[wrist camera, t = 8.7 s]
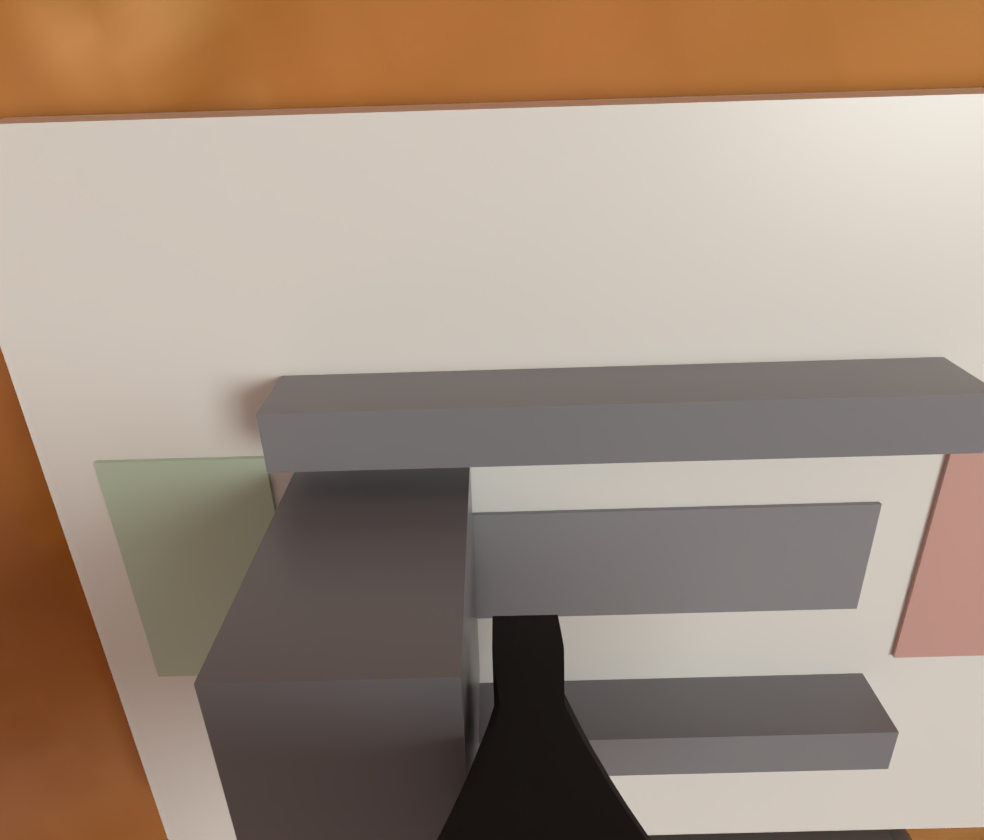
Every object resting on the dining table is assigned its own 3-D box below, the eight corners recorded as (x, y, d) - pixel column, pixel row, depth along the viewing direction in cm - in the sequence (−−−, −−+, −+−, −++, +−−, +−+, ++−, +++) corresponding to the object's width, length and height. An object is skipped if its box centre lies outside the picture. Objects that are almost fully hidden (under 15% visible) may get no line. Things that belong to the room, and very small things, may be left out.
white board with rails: (1206, 80, 12) (1457, 85, 9) (917, 881, 21) (991, 1022, 18) (7, 116, 12) (-158, 134, 9) (236, 897, 22) (193, 1039, 18)
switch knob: (470, 460, 13) (460, 677, 8) (479, 668, 15) (476, 931, 10) (297, 464, 13) (194, 684, 8) (331, 671, 15) (264, 936, 10)
